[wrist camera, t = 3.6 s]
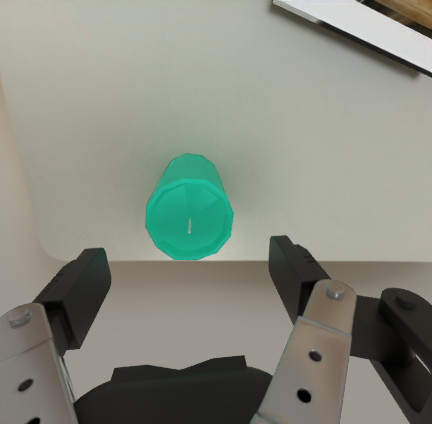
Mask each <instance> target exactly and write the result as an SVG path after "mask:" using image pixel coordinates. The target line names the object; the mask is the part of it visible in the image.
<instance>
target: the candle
mask: <svg viewBox="0 0 432 424" xmlns="http://www.w3.org/2000/svg"><path fill="white" fill-rule="evenodd" d="M233 215H234V213H233V211H232V208H231V206H230V203H229V201H228V198H227V196H226V193H225V191H224V188H223V186H222V184H221V181H220V179H219V176H218V174H217V171H216V169H215V166H214V165H213V164H212V163H211V162H210V161H208V160H207V159H206V158H204V157H203V156H202V155H194V154H184V155H182V156H180V157H177V158H175V159H173V160H172V161H171V163H170V164H169V165H168V167H167V168H166V170H165V171H164V173H163V175H162V177H161V178H160V180H159V182H158V184H157V186H156V188H155V190H154V192H153V194H152V196H151V197H150V199H149V201H148V203H147V205H146V225H145V227H146V229H147V231H148V233H149V235H150V237H151V238H152V240H153V242H154V244H155V246H156V247H157V248H158V249H160V250H161V251H163V252H164V253H165V254H167V255H168V256H170V257H171V258H172V259H174V260H199V259H201V258H204V257H207V256H210V255H212V254H215V253H217V252H218V251H219V250H220V248H221V247H222V246H223V245H224V244H225V242H226V241H227V240H228V239H229V238H230V236H231V230H232V223H233Z"/></svg>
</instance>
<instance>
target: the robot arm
mask: <svg viewBox="0 0 432 424" xmlns="http://www.w3.org/2000/svg"><path fill="white" fill-rule="evenodd" d="M269 272H270V276H271V278H272V280H273V282H274V284H275V287H276V289H277V291H278V293H279V295H280V297H281V300H282V302H283V304H284V306H285V308H286V310H287V312H288V314H289V317H290V319H291V321H292V323H293V325H294V327H293V330H292V332H291V335H290V337H289V340H288V342H287V344H286V347H285V349H284V351H283V354H282V356H281V359H280V361H279V363H278V366H277V368H276V370H275V373H274V375H273V376H272V375H270V374H269V373H267V372H264V371H262V370H260V369H256V368H253V367H247V365H246V361H245V356H244V355H243V356H232V357H222V358H213V359H210V360H207V361H204V362H202V363H199V364H196V365H194V366H190V367H187V368H185V369H181V370H176V369H170V368H164V367H157V366H151V365H140V366H130V367H120V368H114V371H113V375H112V378H111V380H110V381H108V382H105V383H103V384H101V385H99V386H97V387H95V388H94V389H92V390H90V391H89V392H87V393H86V394H84V395H83V396H81V397H80V398H79V399H78V400H77V397H76V394H75V391H74V388H73V384H72V382H71V378H70V376H69V372H68V369H67V366H66V363H65V360H64V358H63V356H64V354H65V352H66V351H67V350H74V349H80V347H81V345H82V343H83V341H84V339H85V337H86V335H87V333H88V331H89V329H90V327H91V325H92V323H93V321H94V319H95V317H96V315H97V313H98V311H99V309H100V307H101V305H102V303H103V301H104V299H105V297H106V295H107V293H108V291H109V289H110V286H111V273H110V269H109V265H108V261H107V256H106V252H105V250H104V248H89V249H84V251H83V252H82V253H81V254H80V255H79V257H78V258H77V259H76V260H73V261H71V262H70V263H68V264H67V265H65V266H64V267H62V269H61V270H60V271H59V272H58V273H57V274H56V276H55V277H54V278H53V279H52V280H51V282H50V283H48V285H47V286H46V287H45V288H44V289H43V290H42V291H41V293H40V294H39V295H38V296H37V297H36V298H35V300H34V301H33V302H32V303H29V304H24V305H21V306H18V307H16V308H14V309H12V310H10V311H8V312H7V313H5V314H4V315H3V316H1V317H0V424H340V417H341V411H342V404H343V397H344V390H345V383H346V376H347V369H348V362H349V356H355V357H359V358H364V359H369V360H370V362H371V363H372V365H373V367H374V368H375V370H376V371H377V373H378V374H379V376H380V377H381V379H382V381H383V382H384V384H385V385H386V387H387V388H388V390H389V391H390V393H391V394H392V396H393V398H394V399H395V401H396V402H397V404H398V405H399V407H400V408H401V410H402V412H403V413H404V415H405V416H406V418H407V420H408V421H409V423H410V424H432V305H431V304H430V303H429V302H427V301H426V300H425V299H424V298H422V297H420V296H419V295H417V294H415V293H413V292H411V291H408V290H405V289H400V288H387V289H385V290H383V291H382V294H381V298H380V299H379V298H372V297H364V296H359V295H356V293H355V291H354V290H353V289H352V288H351V287H350V286H348V285H347V284H345V283H343V282H340V281H337V280H332V279H331V278H330V277H329V276H328V274H327V273H326V272H325V271H324V269H323V268H322V267H321V266H320V265H319V264H318V263H317V261H316V260H315V259H314V257H312V255H311V254H310V253H309V251H308V250H307V249H305V248H304V247H302V246H300V245H299V244H297V245H294V244H293V243H292V241H291V240H290V239H289V238H288V236H287V235H283V236H271V238H270V246H269ZM416 354H417V356H418V357H419V358H420V359H421V360H422V361H423V362H424V364H425V365H426V366H427V368H428V369H429V371H430V373H431V374H430V373H429V372H428V370H427V369H426V368H425V367H424V366H423V365H422V363H421V362H420V361H419V360H418V358H417V357H416Z"/></svg>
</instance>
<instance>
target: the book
mask: <svg viewBox="0 0 432 424" xmlns="http://www.w3.org/2000/svg"><path fill="white" fill-rule="evenodd" d="M273 3H274V4H276V5H278V6H280V7H282V8H284V9H286V10H289V11H291V12H293V13H295V14H297V15H299V16H301V17H304V18H306V19H308V20H310V21H312V22H314V23H316V24H318V25H321V26H323V27H325V28H327V29H329V30H331V31H333V32H336V33H338V34H340V35H342V36H344V37H346V38H348V39H350V40H353V41H355V42H357V43H359V44H361V45H363V46H365V47H368V48H370V49H372V50H374V51H376V52H378V53H380V54H382V55H385V56H387V57H389V58H391V59H393V60H395V61H397V62H399V63H402V64H404V65H406V66H408V67H410V68H412V69H414V70H417V71H419V72H421V73H423V74H425V75H427V76H429V77H431V78H432V39H430V38H428V37H426V36H424V35H422V34H420V33H418V32H416V31H414V30H412V29H410V28H408V27H406V25H408V24H410V23H413V22H415V21H416V22H417V23H419V24H421V25H423V26H425V27H427V28H429V29H431V30H432V0H273Z"/></svg>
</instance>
